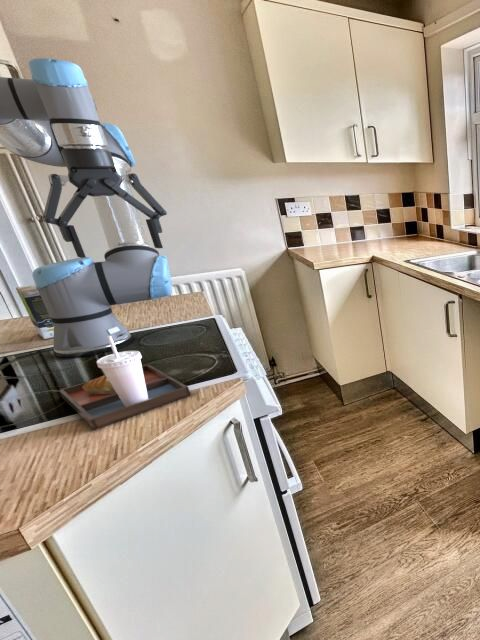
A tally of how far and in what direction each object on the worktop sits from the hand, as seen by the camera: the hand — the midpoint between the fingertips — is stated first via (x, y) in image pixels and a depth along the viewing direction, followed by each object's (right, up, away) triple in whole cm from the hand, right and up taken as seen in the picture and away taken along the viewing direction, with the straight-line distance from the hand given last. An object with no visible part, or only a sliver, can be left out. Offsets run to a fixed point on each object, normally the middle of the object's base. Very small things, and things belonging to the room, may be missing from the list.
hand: (122, 252), depth 95 cm
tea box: (-47, -17, +35) cm, 61 cm away
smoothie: (+14, -32, -12) cm, 37 cm away
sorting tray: (+8, -32, -8) cm, 34 cm away
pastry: (+5, -30, -6) cm, 31 cm away
